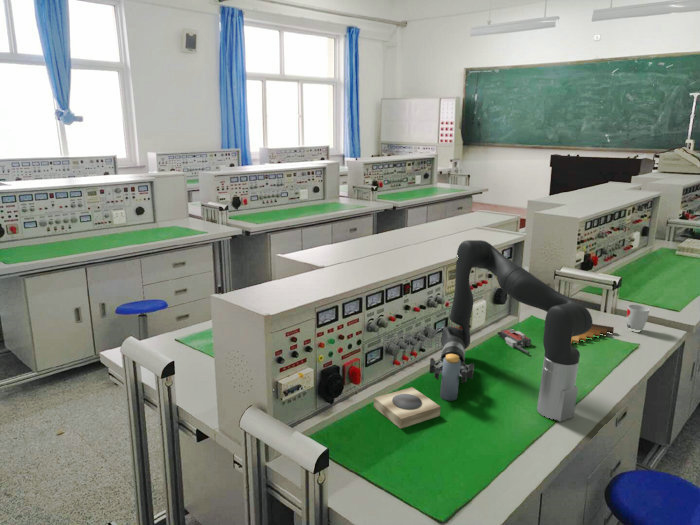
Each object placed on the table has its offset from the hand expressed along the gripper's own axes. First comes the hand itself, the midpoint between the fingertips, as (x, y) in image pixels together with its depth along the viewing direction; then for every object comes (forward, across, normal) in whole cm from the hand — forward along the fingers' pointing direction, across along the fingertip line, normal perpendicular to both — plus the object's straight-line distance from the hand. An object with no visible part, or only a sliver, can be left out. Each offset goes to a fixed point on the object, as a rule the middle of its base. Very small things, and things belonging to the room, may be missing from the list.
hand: (450, 378), depth 162 cm
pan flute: (-67, +48, +8) cm, 83 cm away
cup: (-83, +72, +7) cm, 110 cm away
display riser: (+10, -11, +7) cm, 17 cm away
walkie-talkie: (-52, +23, +8) cm, 57 cm away
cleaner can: (-2, 0, +7) cm, 7 cm away
